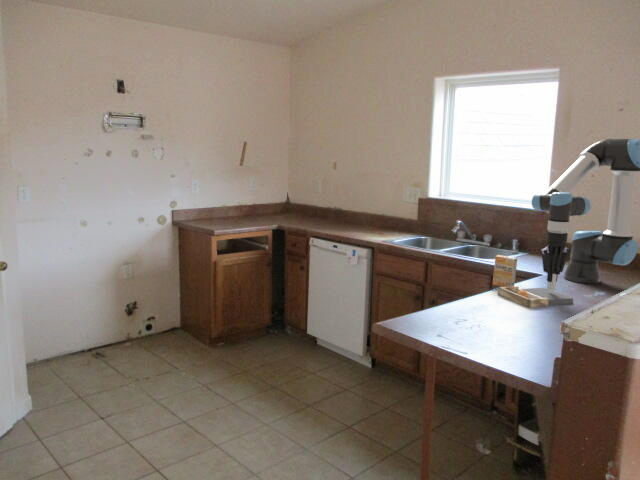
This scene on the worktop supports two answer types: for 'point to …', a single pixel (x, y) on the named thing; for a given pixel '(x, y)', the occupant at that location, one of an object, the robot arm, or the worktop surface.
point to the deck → (548, 296)
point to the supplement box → (504, 271)
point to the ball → (523, 293)
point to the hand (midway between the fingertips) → (551, 289)
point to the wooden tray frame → (521, 297)
